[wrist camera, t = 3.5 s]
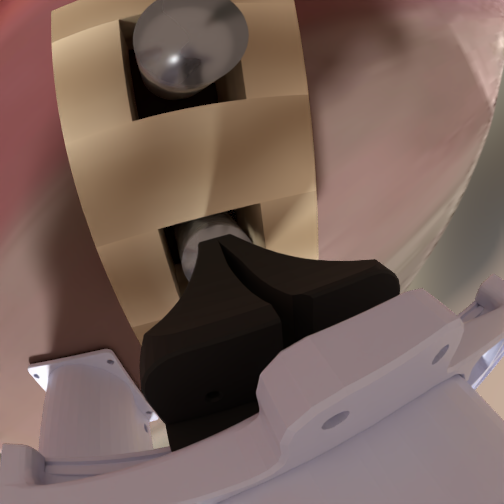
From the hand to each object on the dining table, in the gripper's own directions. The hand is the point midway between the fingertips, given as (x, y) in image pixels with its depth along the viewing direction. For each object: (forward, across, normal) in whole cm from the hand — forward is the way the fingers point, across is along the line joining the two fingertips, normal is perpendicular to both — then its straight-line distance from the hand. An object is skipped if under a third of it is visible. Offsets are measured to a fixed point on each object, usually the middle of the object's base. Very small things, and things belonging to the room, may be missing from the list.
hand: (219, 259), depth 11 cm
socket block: (+4, 0, -4) cm, 6 cm away
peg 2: (+4, 0, 0) cm, 4 cm away
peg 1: (+2, 0, -8) cm, 8 cm away
